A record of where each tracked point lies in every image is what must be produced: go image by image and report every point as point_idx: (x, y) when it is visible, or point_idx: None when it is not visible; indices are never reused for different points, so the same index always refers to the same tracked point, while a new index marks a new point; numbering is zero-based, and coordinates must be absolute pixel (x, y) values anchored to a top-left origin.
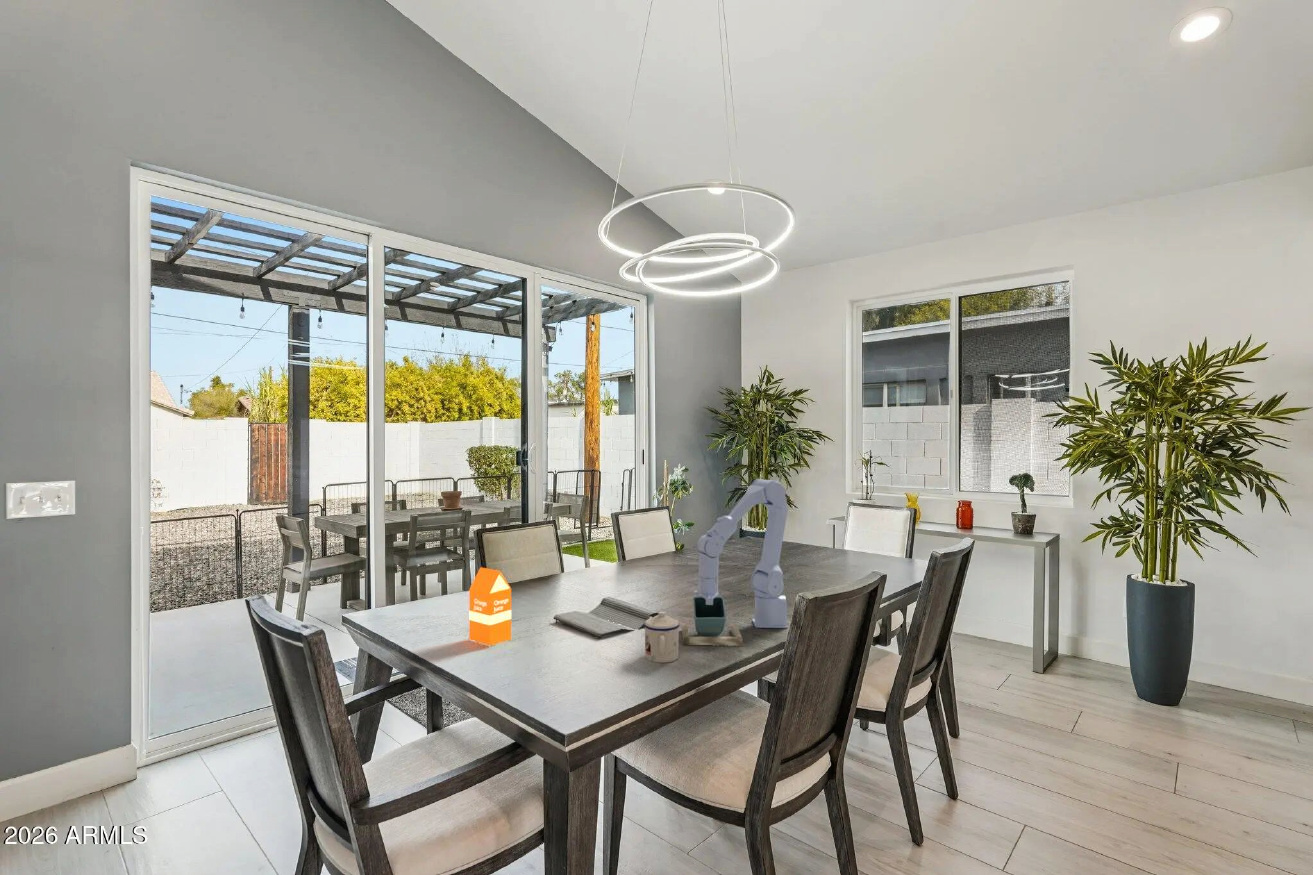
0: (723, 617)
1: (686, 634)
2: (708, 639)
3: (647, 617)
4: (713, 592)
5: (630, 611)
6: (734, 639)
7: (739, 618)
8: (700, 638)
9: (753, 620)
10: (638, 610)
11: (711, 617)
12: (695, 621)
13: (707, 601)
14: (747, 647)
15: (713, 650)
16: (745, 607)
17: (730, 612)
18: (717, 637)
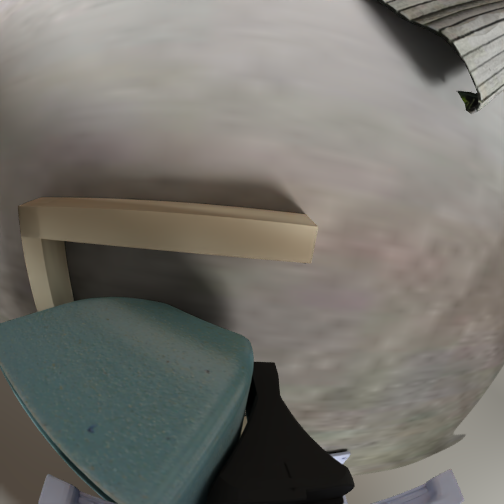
0: (54, 448)
1: (67, 227)
2: None
3: (430, 22)
4: None
5: (491, 4)
6: None
7: (384, 426)
8: (32, 292)
9: (334, 457)
10: (492, 18)
11: (28, 413)
12: (10, 321)
13: (46, 496)
14: None
15: (24, 311)
16: (450, 420)
17: (442, 401)
18: None
